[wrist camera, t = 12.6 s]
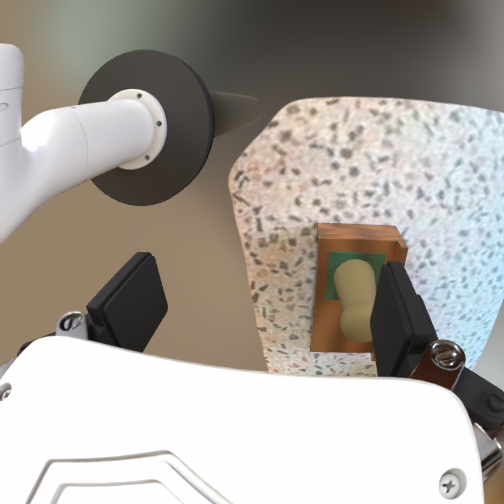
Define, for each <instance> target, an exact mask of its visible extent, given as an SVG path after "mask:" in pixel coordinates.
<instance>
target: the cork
mask: <svg viewBox="0 0 504 504" xmlns="http://www.w3.org/2000/svg"><path fill="white" fill-rule="evenodd" d="M333 280H334V284H335V287H336V290H337V294H338V297H339V300H340V303H341V307H342V310H343V313H342V316H341V321H340V326H341V331H342V333H343V334H344V336H345V337H346V338H347V339H349V340H350V341H352V342H355V343H365V342H369V341H371V340H372V335H371V329H370V317H371V313H372V309H373V305H374V300H375V296H376V285H375V274H374V270H373V268H372V266H371V265H370V264H369V263H367V262H366V261H363V260H358V259H353V260H349V261H346V262H344V263H342V264H341V265H340V266H339V267H338V268H337V269H336V271H335V273H334V279H333Z"/></svg>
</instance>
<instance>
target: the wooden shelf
mask: <svg viewBox="0 0 504 504" xmlns="http://www.w3.org/2000/svg"><path fill="white" fill-rule="evenodd" d="M317 233H318V253H317V271H316V286H315V300H314V312H313V323H312V327H311V341H310V352H339V353H371V359H372V361H376V359H375V353H374V346H373V340H371V341H369V342H365V343H355V342H352V341H350V340H349V339H347V338H346V337H345V336H344V334H343V333H342V331H341V326H340V321H341V316H342V313H343V310H342V307H341V303H340V300H339V297H338V294H337V290H336V287H335V284H334V280H333V279H334V273H335V271H336V269H337V268H338V267H339V266H340V265H341V264H342V263H344V262H346V261H349V260H353V259H358V260H363V261H366V262H367V263H369V264H370V265H371V266H372V268H373V270H374V274H375V285H376V291H377V286H378V281H379V276H380V271H381V267H382V265H386V263H387V261H400V262H402V264H403V266H405V261H406V257H407V252H408V247H407V245H406V243H405V241H404V240H403V238H402V236H401V235H400V233H399V231H398V230H397V228H396V226H385V225H364V224H340V223H318V232H317Z"/></svg>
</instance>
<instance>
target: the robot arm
mask: <svg viewBox="0 0 504 504" xmlns="http://www.w3.org/2000/svg"><path fill="white" fill-rule="evenodd" d="M23 79H24V59H23V55H22V53H21V51H20V50H19V49H18V48H17V47H15V46H13V45H10V44H0V244H1V243H2V242H4V241H5V240H6V239H7V238H9V237H10V236H11V235H12V234H13V233H14V232H15V231H16V230H17V229H18V228H19V226H21V225H22V224H23V223H24V221H25V220H27V219H28V218H29V217H30V216H31V215H32V214H33V213H34V212H35V211H36V210H38V209H39V208H40V207H41V206H43V205H44V204H45V203H47V202H49V201H50V200H52V199H54V198H55V197H57V196H59V195H60V194H62V193H64V192H66V191H68V190H70V189H72V188H74V187H76V186H78V185H80V184H82V183H84V182H86V181H88V180H90V179H92V178H94V177H96V176H98V175H101V174H103V173H105V172H107V171H109V170H111V169H114V168H116V167H120V168H123V169H138V168H141V167H143V166H145V165H147V164H149V163H150V162H152V161H153V160H154V159H155V158H156V157H157V156H158V154H159V153H160V151H161V150H162V147H163V145H164V143H165V139H166V133H167V121H166V117H165V113H164V110H163V108H162V106H161V105H160V103H159V102H158V100H157V99H156V98H155V97H154V96H152V95H151V94H149V93H148V92H146V91H143V90H138V89H129V90H124V91H120V92H119V93H117V94H115V95H114V96H112V97H111V98H110V99H109V100H108V101H105V102H97V103H89V104H82V105H76V106H70V107H64V108H59V109H53V110H48V111H46V112H43V113H41V114H39V115H37V116H35V117H34V118H32V119H31V120H30V121H28V122H27V123H26V124H25V125H24V126H23V127H22V128H21V107H22V91H23ZM141 95H142V97H141ZM160 123H162V125H161V124H160ZM86 308H87V310H88V314H87V315H86V314H85V313H84V312H83V311H71V312H69V313H66V314H65V315H64V316H62V317H61V318H60V319H59V321H58V322H57V325H56V332H54V333H51V334H48V335H46V336H43V337H41V338H38V339H35V340H33V341H30V342H27V343H25V344H23V345H22V347H21V348H20V350H19V352H18V354H17V359H15V357H13V358H12V359H10V360H9V361H7V362H6V363H4V364H3V365H1V366H0V504H504V392H503V391H502V390H501V389H499V388H498V387H496V386H495V385H493V384H491V383H490V382H488V381H487V380H485V379H484V378H482V377H480V376H479V375H477V374H476V373H474V372H472V371H471V370H469V369H468V368H466V367H464V365H465V361H466V358H465V354H464V352H463V350H462V349H461V347H460V346H459V345H457V344H456V343H454V342H452V341H449V340H443V339H442V340H439V339H438V337H437V334H436V332H435V329H434V326H433V324H432V321H431V319H430V316H429V314H428V312H427V309H426V307H425V304H424V302H423V300H422V298H421V296H420V295H416V292H415V290H414V288H413V285H412V283H411V281H410V279H409V277H408V274H407V272H406V270H405V268H404V266H403V264H402V262H400V261H387V263H386V265H382V267H381V271H380V276H379V281H378V286H377V291H376V296H375V300H374V305H373V309H372V313H371V317H370V329H371V335H372V340H373V346H374V353H375V359H376V366H377V373H378V377H359V376H322V375H301V374H286V373H273V372H262V371H252V370H243V369H234V368H227V367H220V366H211V365H205V364H199V363H193V362H187V361H181V360H176V359H170V358H165V357H160V356H154V355H150V354H145V353H143V351H144V349H145V347H146V346H147V344H148V342H149V341H150V339H151V337H152V336H153V334H154V333H155V331H156V329H157V328H158V326H159V324H160V323H161V321H162V319H163V318H164V316H165V315H166V313H167V310H168V305H167V301H166V297H165V294H164V290H163V286H162V283H161V279H160V275H159V271H158V267H157V264H156V260H155V257H154V256H152V255H151V253H149V252H137V253H136V254H135V255H134V256H133V257H132V258H131V259H130V260H129V261H128V262H127V263H126V264H125V265H124V266H123V267H122V268H121V269H120V270H119V271H118V272H117V273H116V274H115V275H114V277H113V278H111V280H110V281H109V282H108V283H107V284H106V285H105V286H104V287H103V288H102V289H101V290H100V291H99V293H98V294H97V295H96V296H95V297H94V298H93V299H92V300H91V301H90V302H89V303H88V305H87V306H86Z"/></svg>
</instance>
